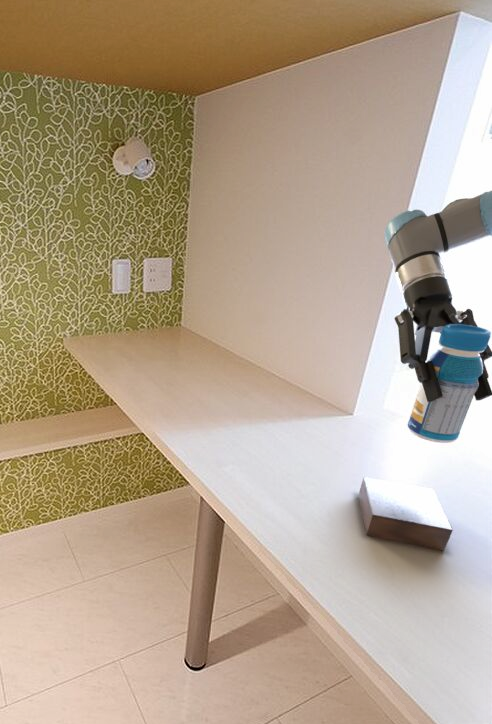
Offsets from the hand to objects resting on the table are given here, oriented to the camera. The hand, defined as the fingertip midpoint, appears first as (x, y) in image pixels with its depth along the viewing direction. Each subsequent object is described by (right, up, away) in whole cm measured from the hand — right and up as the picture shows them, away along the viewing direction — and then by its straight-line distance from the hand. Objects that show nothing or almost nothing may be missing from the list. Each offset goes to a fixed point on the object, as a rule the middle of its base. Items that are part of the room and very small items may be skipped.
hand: (459, 398), depth 74 cm
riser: (-8, -23, +5) cm, 24 cm away
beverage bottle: (0, -7, +7) cm, 9 cm away
